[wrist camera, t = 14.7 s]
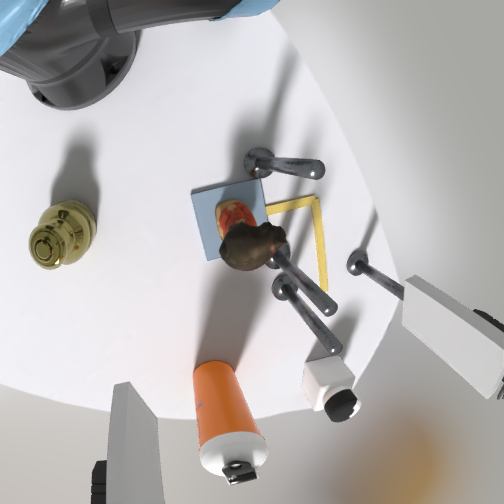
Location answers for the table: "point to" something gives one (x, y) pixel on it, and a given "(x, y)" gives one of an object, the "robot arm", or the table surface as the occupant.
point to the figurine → (245, 236)
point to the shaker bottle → (226, 425)
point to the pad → (211, 198)
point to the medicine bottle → (330, 388)
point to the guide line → (317, 227)
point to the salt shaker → (62, 234)
